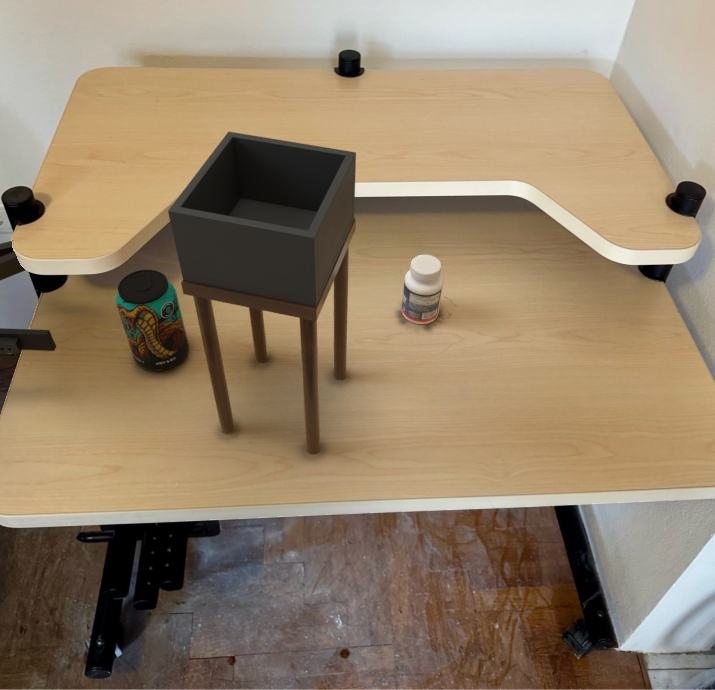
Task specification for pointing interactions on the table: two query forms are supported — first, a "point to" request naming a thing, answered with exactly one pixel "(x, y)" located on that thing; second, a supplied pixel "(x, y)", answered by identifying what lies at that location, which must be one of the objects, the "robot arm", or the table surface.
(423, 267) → the pill bottle
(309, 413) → the stool
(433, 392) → the table surface
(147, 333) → the beverage can
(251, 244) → the trash bin
